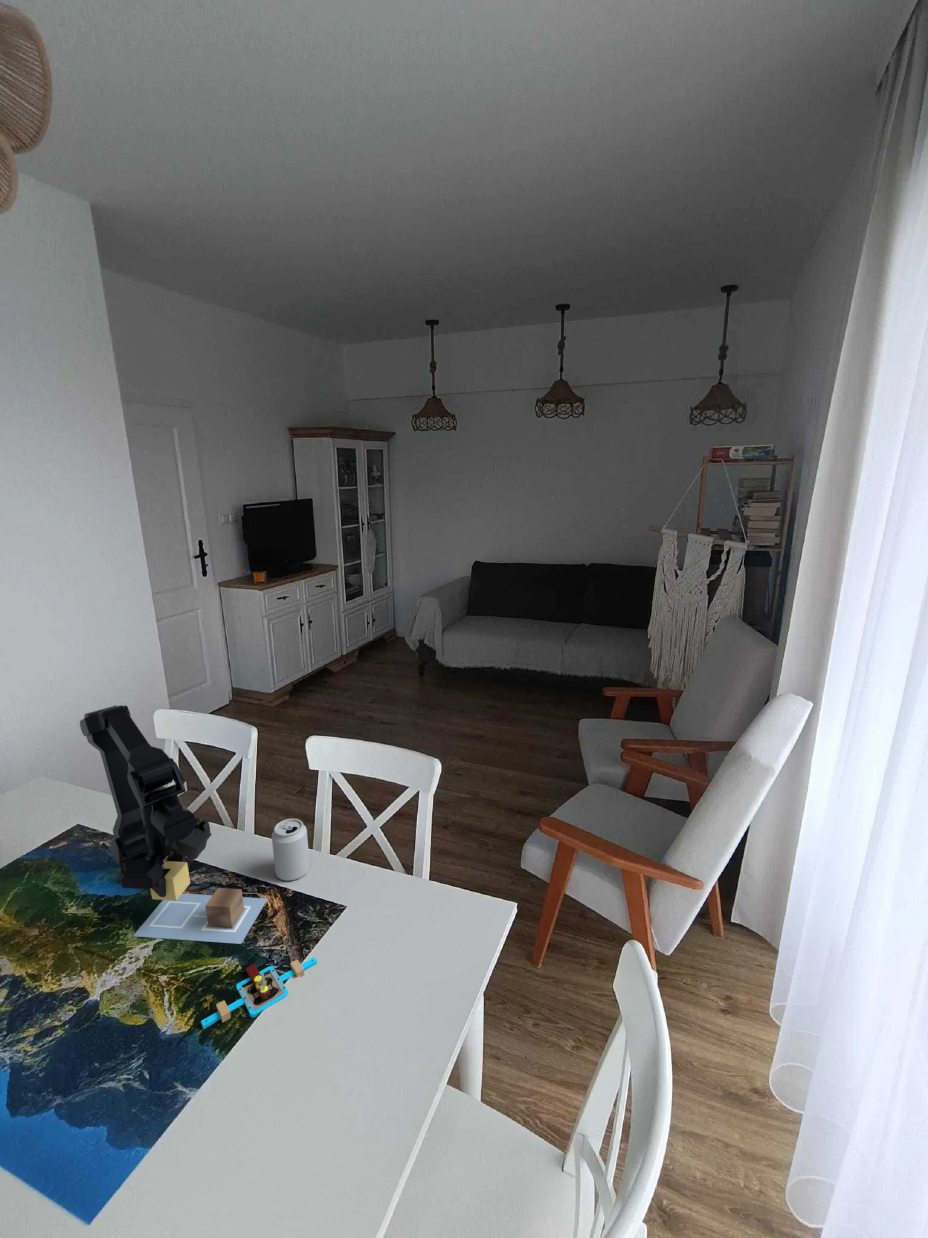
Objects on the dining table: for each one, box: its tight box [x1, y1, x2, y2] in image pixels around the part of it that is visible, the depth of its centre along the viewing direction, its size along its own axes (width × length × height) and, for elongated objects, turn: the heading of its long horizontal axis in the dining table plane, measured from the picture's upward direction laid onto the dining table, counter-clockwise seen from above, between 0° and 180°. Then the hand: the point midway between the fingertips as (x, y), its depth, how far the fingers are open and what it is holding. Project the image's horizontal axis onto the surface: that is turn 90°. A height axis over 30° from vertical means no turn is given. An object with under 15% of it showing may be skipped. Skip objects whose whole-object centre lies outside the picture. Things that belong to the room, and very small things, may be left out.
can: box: [271, 818, 311, 882], centre depth 129 cm, size 8×8×12 cm
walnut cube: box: [205, 887, 244, 928], centre depth 116 cm, size 5×5×5 cm
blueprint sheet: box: [133, 892, 268, 945], centre depth 117 cm, size 22×12×1 cm, turn 84°
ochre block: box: [149, 860, 191, 901], centre depth 116 cm, size 5×5×5 cm
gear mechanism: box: [200, 956, 318, 1030], centre depth 101 cm, size 20×5×9 cm
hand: (170, 887), depth 116 cm, fingers closed on ochre block, 5 cm apart
